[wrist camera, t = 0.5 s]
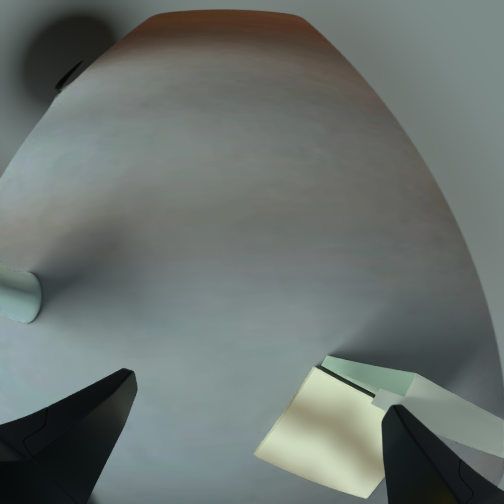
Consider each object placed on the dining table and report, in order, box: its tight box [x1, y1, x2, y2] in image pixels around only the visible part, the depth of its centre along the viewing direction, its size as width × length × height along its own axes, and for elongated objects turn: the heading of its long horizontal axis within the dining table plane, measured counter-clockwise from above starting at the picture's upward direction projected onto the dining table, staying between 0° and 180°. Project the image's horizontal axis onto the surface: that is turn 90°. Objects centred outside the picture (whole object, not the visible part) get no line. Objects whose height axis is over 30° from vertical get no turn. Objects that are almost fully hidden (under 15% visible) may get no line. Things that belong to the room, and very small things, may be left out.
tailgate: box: [321, 356, 504, 458], centre depth 15 cm, size 2×12×15 cm, turn 58°
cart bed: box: [254, 366, 386, 499], centre depth 20 cm, size 10×13×1 cm
